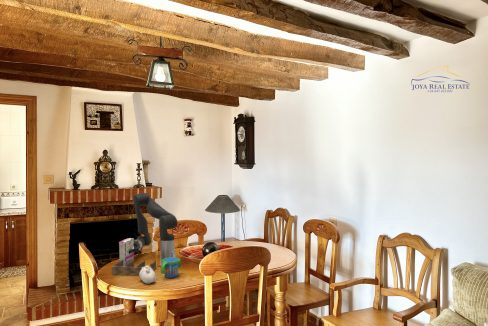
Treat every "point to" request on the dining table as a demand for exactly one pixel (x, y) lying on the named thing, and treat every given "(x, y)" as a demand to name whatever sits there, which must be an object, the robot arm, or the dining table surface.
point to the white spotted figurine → (147, 274)
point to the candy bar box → (126, 250)
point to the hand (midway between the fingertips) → (125, 252)
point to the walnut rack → (130, 268)
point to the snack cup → (170, 267)
